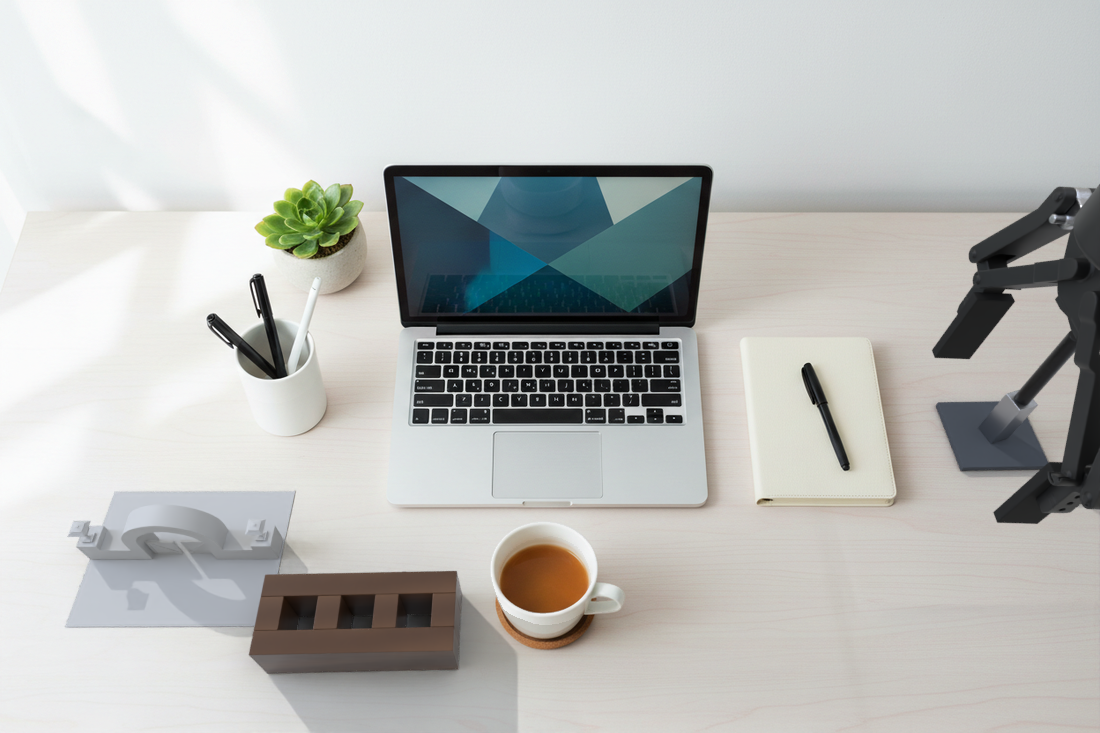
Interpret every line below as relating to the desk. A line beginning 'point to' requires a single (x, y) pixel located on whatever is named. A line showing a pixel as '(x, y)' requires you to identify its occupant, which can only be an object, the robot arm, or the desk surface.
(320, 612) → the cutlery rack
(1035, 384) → the rod topped stamp
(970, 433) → the felt mat
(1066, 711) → the desk surface
